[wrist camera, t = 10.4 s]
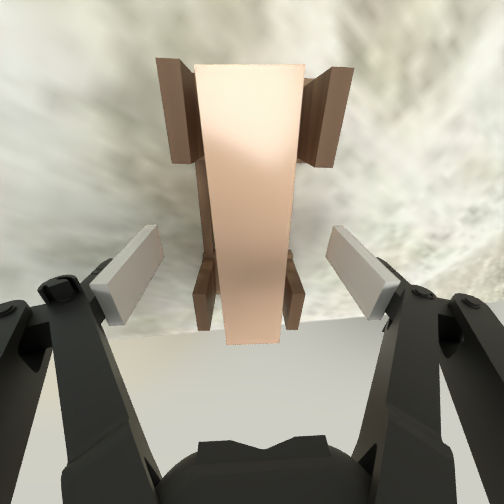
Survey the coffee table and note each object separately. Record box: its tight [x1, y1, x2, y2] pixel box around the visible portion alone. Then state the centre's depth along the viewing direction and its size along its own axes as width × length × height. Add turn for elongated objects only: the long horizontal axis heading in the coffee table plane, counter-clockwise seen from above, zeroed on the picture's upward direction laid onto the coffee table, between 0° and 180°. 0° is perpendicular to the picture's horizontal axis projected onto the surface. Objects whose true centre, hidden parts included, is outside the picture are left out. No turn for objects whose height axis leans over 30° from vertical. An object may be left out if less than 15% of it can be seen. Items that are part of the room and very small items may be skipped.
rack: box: [156, 58, 354, 331], centre depth 19 cm, size 10×22×7 cm, turn 178°
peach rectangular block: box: [194, 64, 305, 345], centre depth 18 cm, size 5×20×8 cm, turn 1°
